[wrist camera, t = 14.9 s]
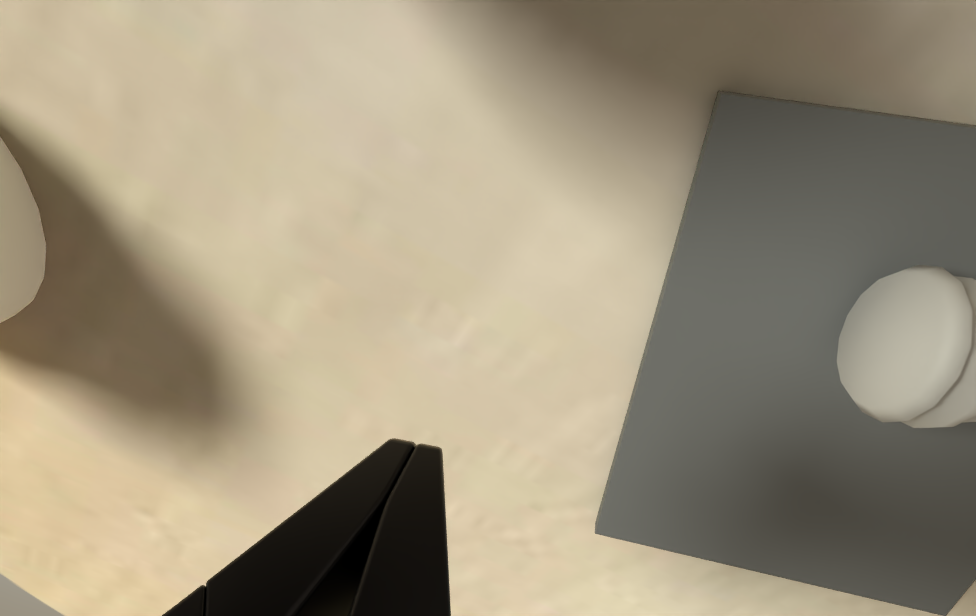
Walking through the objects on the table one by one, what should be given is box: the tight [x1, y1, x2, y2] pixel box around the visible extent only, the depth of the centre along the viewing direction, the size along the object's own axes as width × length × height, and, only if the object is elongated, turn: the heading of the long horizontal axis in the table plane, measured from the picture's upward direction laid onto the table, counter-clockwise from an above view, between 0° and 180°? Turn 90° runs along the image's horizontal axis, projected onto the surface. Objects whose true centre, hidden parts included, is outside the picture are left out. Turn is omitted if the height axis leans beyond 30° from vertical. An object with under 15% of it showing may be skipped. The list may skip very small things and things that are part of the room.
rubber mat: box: [595, 91, 976, 616], centre depth 20 cm, size 18×14×1 cm
